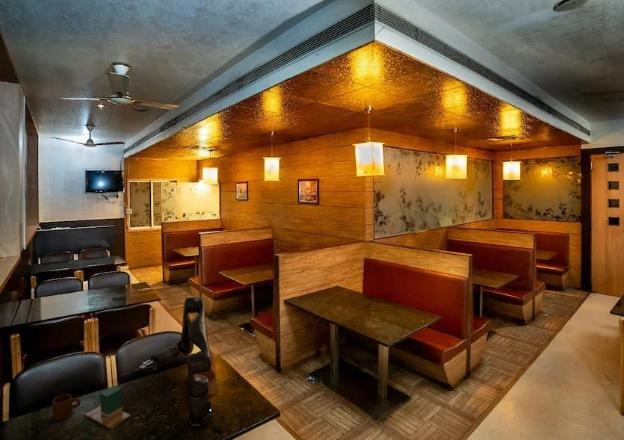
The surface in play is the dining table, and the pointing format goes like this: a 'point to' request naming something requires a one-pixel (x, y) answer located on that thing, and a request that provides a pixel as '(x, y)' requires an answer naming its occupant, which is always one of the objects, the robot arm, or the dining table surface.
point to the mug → (64, 406)
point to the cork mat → (105, 421)
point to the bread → (211, 376)
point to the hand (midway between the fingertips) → (133, 373)
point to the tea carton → (111, 401)
